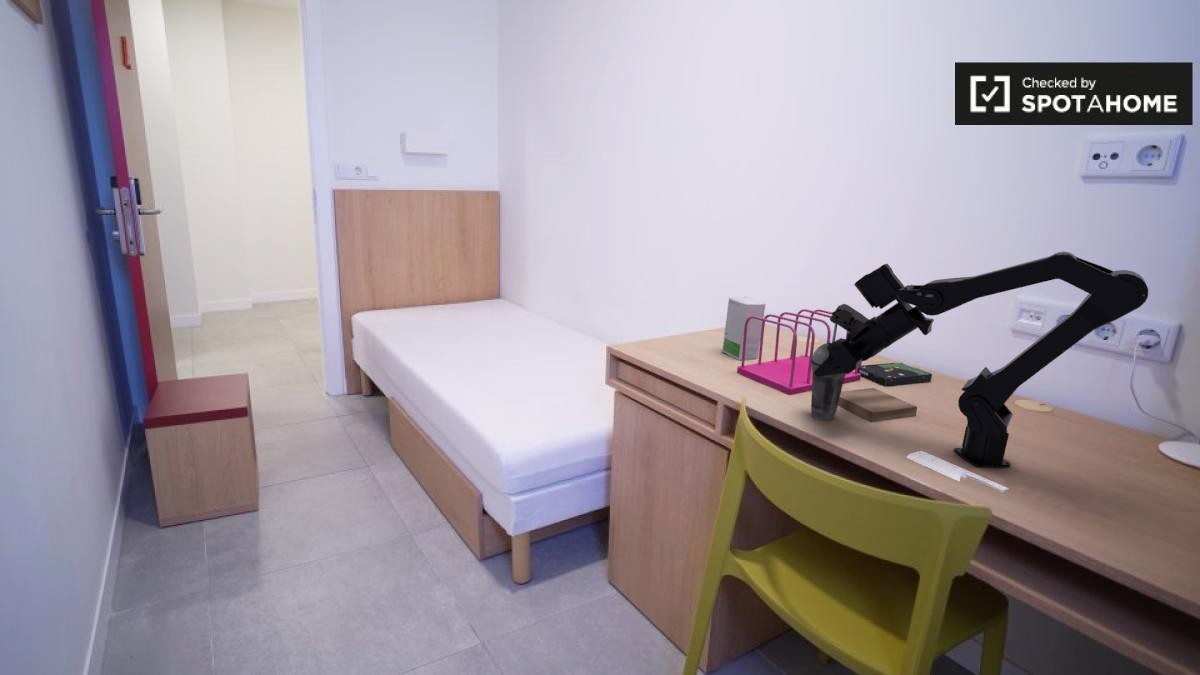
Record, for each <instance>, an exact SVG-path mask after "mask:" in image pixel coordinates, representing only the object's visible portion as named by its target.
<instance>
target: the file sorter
mask: <svg viewBox="0 0 1200 675" xmlns="http://www.w3.org/2000/svg"><path fill="white" fill-rule="evenodd" d="M803 312H806V313H810V316H809V315H804V314H802V313H803ZM832 312H833V311H828V310H825V309H815V310H811V309H807V308H806V309H800V310H799V311H798V312H797V313H794V312H788V311H785V312H782V313H780V314H779V315H777V314H772V313H770V314H766V315H764V318H760V317H756V316H751V317H749V318H747V320H746V322H745V327H744V339H743V352H742V360H741V365H740V366H739V365H738V366H737V370H736V373H737V374H740V375H742V376H744V377H746V378H749V379H751V380H754V381H755V382H758V383H761V384H764V385H766V386H767V387H771V388H773V389H775V390H778V391H780V392H782V393H784V394H787V395H790V396H791V395H796V394H801V393H806V392H812V376H813V371H812V362H811V360H812V358H813V354H814V350H815V348H814V347H815V338H816V335H815V334H816V333H815V329H814V327H813V326H812V323H813V321H815V322H820V323H822V324H823V325H825V326H826V329H827V338H826V343H831V333H832V331H831V327H830V325H829V323H828V322H827V320H824V319H821V318H816V317H814V315H818V316H822V317H824V318H825V317H826V318H829V319H830V318H831V316H832ZM785 315H788V316H792V317H795V319H792V318H788V317H785ZM770 317H771V318H776V319H777V321H776V320H772V319H768V318H770ZM752 318H753V319H757V320H762V329H761V339H760V346H759V353H758V359H757V360H758V362H756V363H752V364H746V365H745V361H746V360H745V349H746V336H747V325H748V322H749V320H750V319H752ZM799 318H802V319H807V320H809V323H807V322H804V321H800V320H799ZM782 320H784V321H787V322H791V323H794V327H793V326H792V325H789V324H786V323H783V322H781V321H782ZM765 323H770V324H775V325H776V326H777V327H776V336H775V348H774V359H773V360H769V361H762V355H763V344H764V337H765V336H764V334H765V326H766V324H765ZM798 325H803V326H806V327H807V330H808V331H807V337H806V346H805V353H804V355H799V356H797V347H798V346H797V345H798V335H797V334H798V333H797V330H798ZM781 327H785V328H787V329H790V331H791V332H792V333H793V335H792V341H791V342H792V343H791V349H790V355H789V357H787V358H781V359H778V352H779V343H780V342H779V339H780V328H781ZM848 333H849V331H847V330H846V334H848ZM845 339H847V335H845ZM810 340H811V341H810ZM809 348H810V349H809ZM809 350H810V351H809ZM808 354H809V355H808ZM857 372H858V368H857V369H855V370H854V371H852V372H850V373H849V374H846V376H845V378H844V382H843V385H844V384H849V383H853V382H858V381H861V380H862V379H861V378H862V377H861V374H859V373H857Z"/></svg>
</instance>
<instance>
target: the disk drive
mask: <svg viewBox="0 0 1200 675" xmlns="http://www.w3.org/2000/svg"><path fill="white" fill-rule="evenodd" d="M857 373H859V374H861V378H864V379H865V380H868V381H870V382H872V383H874V384H877V385H880V386H882V387H885V388H888V387H890V388H891V387H899V386H905V385H908V386H909V385H917V384H926V383H931V382H932V375H933V373H930V372H928V371H924V370H923V369H920V368H917V367H913V366H910V365H907V364H904V363H903V362H887V363H876V364H865V365H862V364H861V366H859V367H858V372H857Z"/></svg>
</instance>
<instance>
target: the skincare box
mask: <svg viewBox="0 0 1200 675" xmlns="http://www.w3.org/2000/svg"><path fill="white" fill-rule="evenodd" d="M765 310H766V303H764V302H761V301H758V300H757V299H753V298H751V297H747V296H741V297H738V296H737V297H729V298H728V304H727V312H726V319H725V326H724V327H725V328H724V336H723V343H722V350H721V351H722V353H723V352H724V354H725V353H726V355H727V354H728V356H729V355H730V357H732V358H734V359H736V360H738V361H742V352H743V339H744V327H745V322H746V320H747V318H749V317H751V316H756V317H760V318H764V317H765ZM761 329H762V320H757V319H753V318H752V319H750V320H749V322H748V325H747V336H746V349H745V359H749V360H755V359H754V358H758V359H759V349H760V339H761Z"/></svg>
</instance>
